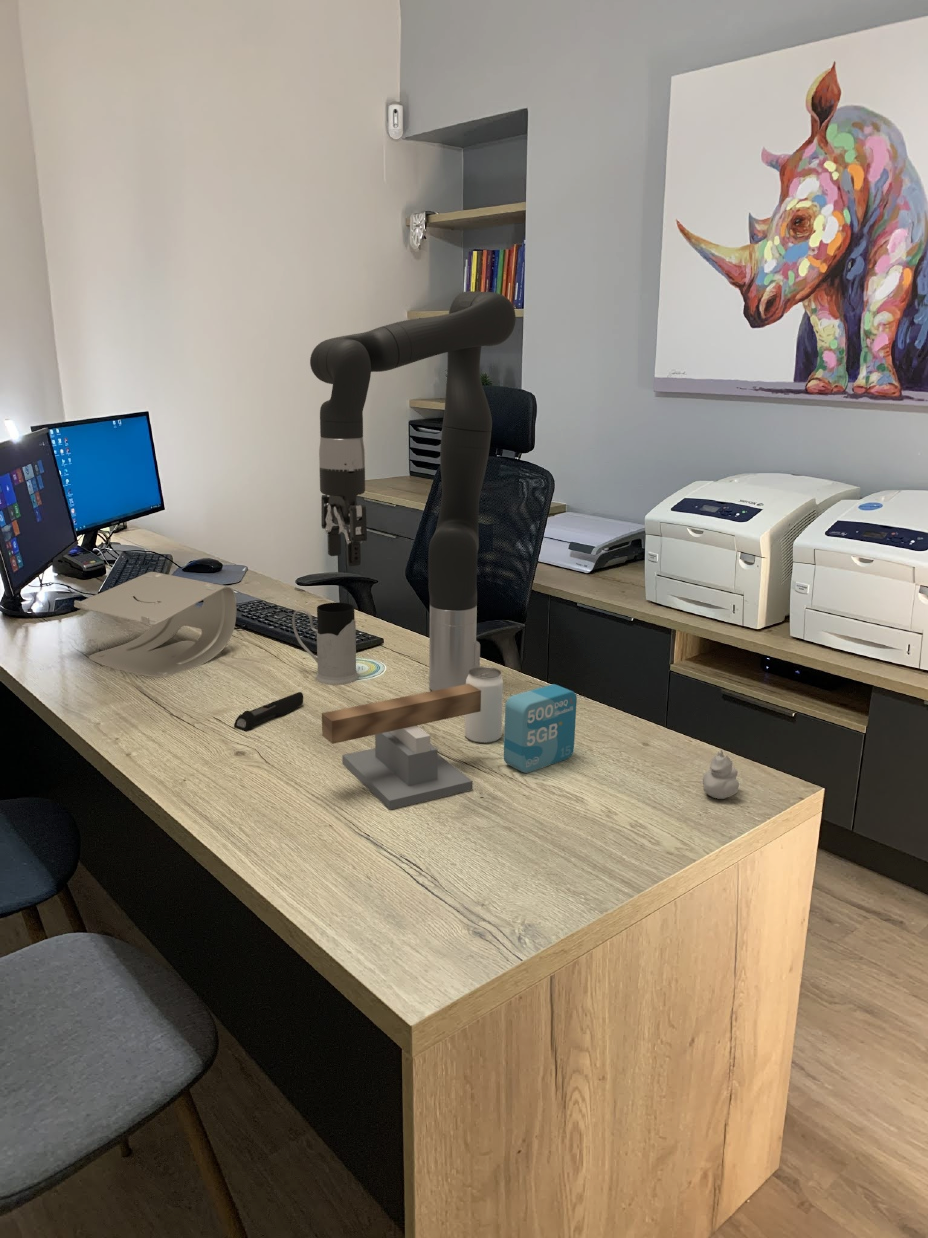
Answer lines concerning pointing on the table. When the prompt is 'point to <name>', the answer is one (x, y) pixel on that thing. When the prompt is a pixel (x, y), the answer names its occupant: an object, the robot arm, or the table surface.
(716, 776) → the rubber duck
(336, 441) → the robot arm
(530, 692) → the data package
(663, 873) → the table surface
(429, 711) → the walnut bar
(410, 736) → the stand
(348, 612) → the grey black mug
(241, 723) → the electric trimmer
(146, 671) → the portable electronic device stand
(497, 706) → the can
